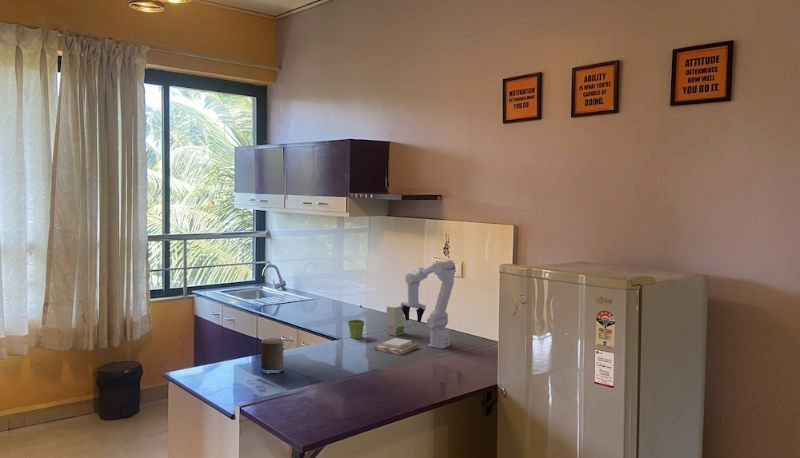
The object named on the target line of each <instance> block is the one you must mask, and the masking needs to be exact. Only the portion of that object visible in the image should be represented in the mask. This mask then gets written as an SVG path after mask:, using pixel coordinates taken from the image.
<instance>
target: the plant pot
mask: <svg viewBox="0 0 800 458" xmlns="http://www.w3.org/2000/svg"><path fill="white" fill-rule="evenodd" d="M347 323H348V327H349V335H350V338H352V339H354V340H355V339H356V340H358V339H362V338H363V333H364V332H363V331H364V326H365V323H366V321H365V320H363V319H351V320H348V321H347Z"/></svg>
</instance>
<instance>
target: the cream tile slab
mask: <svg viewBox="0 0 800 458" xmlns="http://www.w3.org/2000/svg"><path fill="white" fill-rule="evenodd" d="M382 343H383V346H384V347H389V348H394V349H403V348H405V347H408V346H410V345H413V342H412V340H409V339H403V338H399V337H398V338H396V337H394V338H391V339H390V340H386V341H384V342H382Z"/></svg>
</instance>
